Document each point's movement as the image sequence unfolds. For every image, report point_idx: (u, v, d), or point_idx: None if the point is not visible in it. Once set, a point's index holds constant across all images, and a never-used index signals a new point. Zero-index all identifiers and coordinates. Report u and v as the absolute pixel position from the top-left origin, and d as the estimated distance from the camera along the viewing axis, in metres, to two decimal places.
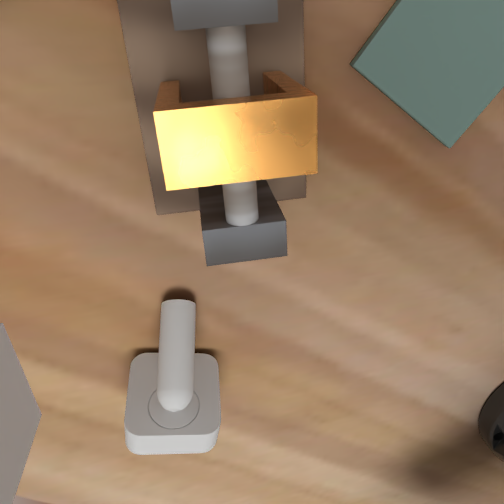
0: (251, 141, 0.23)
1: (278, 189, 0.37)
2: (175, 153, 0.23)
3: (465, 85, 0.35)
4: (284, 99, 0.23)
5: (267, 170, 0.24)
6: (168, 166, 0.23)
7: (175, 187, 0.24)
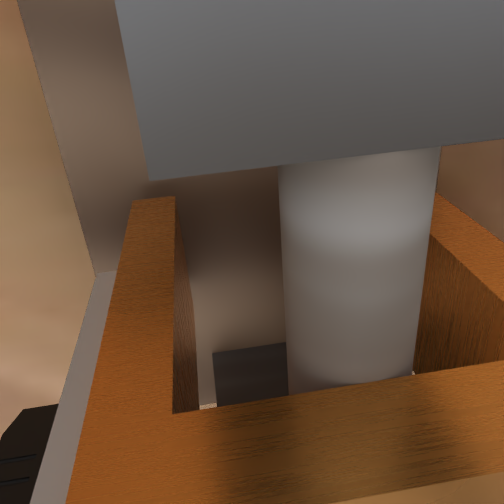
0: None
1: None
2: None
3: None
4: None
5: None
6: None
7: None
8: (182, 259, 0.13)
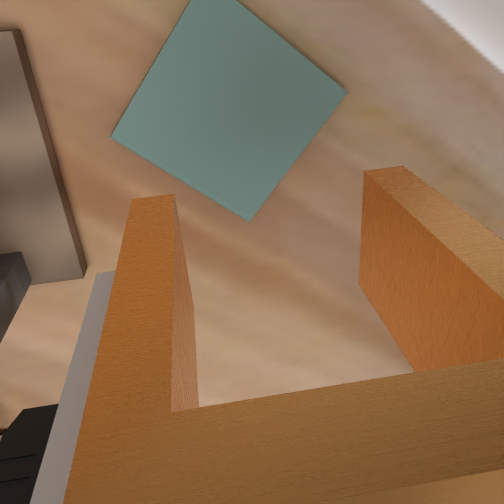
0: None
1: (47, 270, 0.32)
2: None
3: (252, 156, 0.31)
4: None
5: None
6: None
7: None
8: (181, 258, 0.13)
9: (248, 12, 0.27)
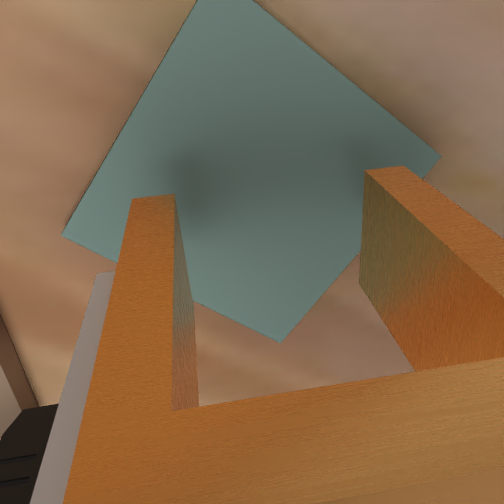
0: None
1: None
2: None
3: (288, 254, 0.20)
4: None
5: None
6: None
7: None
8: (182, 257, 0.13)
9: (288, 33, 0.16)
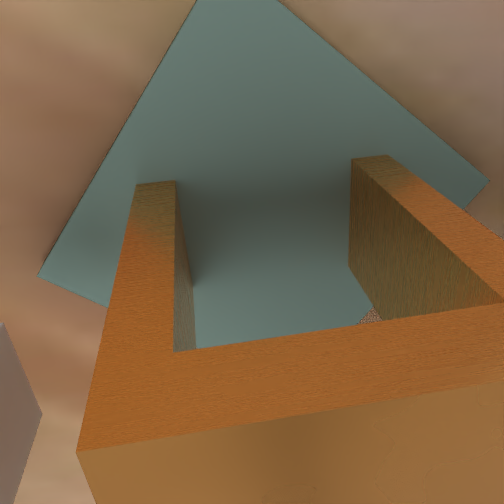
0: (412, 483, 0.07)
1: None
2: None
3: (306, 293, 0.17)
4: None
5: None
6: None
7: None
8: (182, 238, 0.14)
9: (312, 35, 0.13)
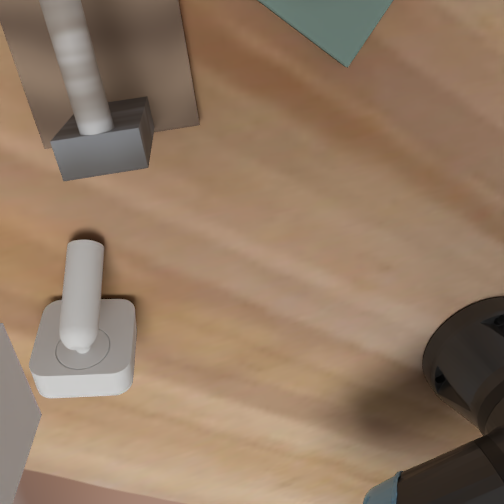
0: None
1: (168, 117, 0.36)
2: None
3: None
4: None
5: None
6: None
7: None
8: None
9: None
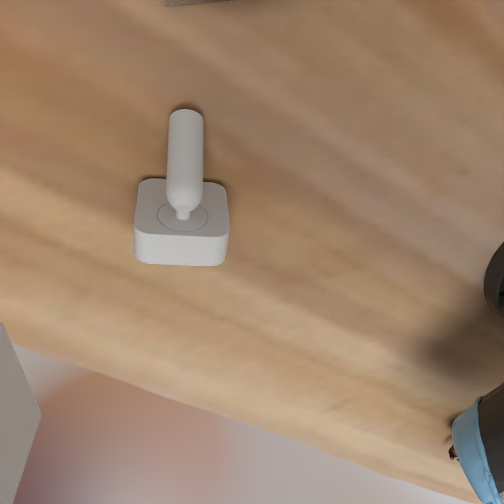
0: None
1: None
2: None
3: None
4: None
5: None
6: None
7: None
8: None
9: None
